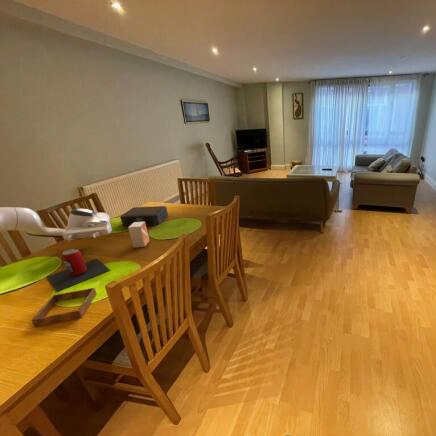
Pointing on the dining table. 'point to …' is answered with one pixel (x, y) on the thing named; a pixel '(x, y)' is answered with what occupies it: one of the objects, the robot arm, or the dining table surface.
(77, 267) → the beverage can
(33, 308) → the dining table surface
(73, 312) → the brown wooden frame
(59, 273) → the rubber mat
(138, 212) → the cash box
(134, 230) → the small box
